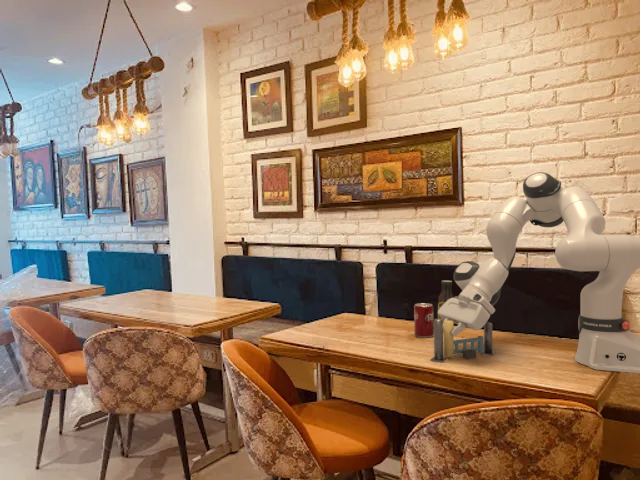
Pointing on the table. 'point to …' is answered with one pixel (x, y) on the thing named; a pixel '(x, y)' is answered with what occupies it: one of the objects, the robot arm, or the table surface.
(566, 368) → the table surface
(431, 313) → the soda can
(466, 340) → the gate
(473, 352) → the block
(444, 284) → the sauce bottle
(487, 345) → the hinge post
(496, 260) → the robot arm
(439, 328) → the post
